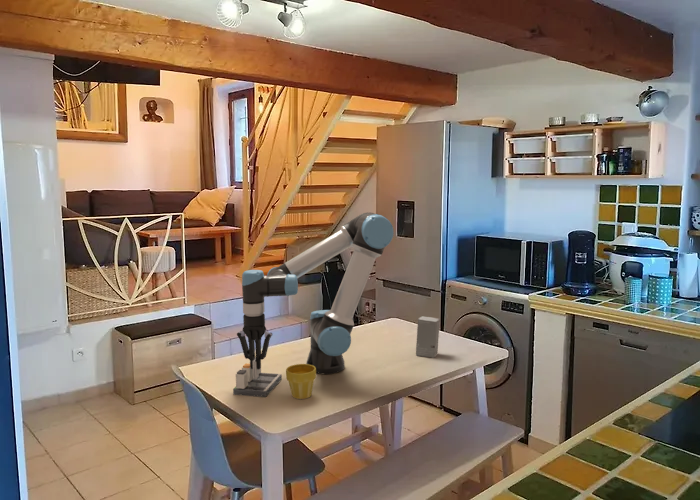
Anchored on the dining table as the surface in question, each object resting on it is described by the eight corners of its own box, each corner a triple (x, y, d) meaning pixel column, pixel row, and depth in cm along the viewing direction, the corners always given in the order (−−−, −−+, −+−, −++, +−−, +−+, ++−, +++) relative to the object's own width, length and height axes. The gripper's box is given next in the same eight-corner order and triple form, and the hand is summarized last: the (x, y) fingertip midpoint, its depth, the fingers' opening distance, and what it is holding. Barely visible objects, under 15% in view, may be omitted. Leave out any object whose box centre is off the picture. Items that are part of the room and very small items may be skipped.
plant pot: (286, 390, 198) (286, 363, 197) (316, 389, 199) (315, 362, 198) (286, 402, 188) (285, 374, 187) (316, 401, 189) (316, 373, 188)
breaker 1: (248, 385, 197) (247, 369, 196) (244, 388, 194) (243, 373, 193) (240, 384, 198) (239, 369, 197) (236, 388, 194) (235, 372, 194)
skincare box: (415, 355, 235) (416, 319, 233) (420, 350, 242) (420, 315, 239) (435, 358, 232) (436, 321, 230) (439, 353, 238) (440, 317, 236)
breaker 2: (253, 378, 204) (253, 363, 203) (249, 381, 200) (249, 366, 199) (245, 377, 204) (245, 362, 203) (242, 381, 201) (241, 366, 200)
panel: (281, 379, 209) (281, 373, 208) (265, 397, 192) (265, 391, 192) (251, 376, 211) (251, 371, 211) (233, 394, 195) (233, 388, 194)
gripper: (274, 311, 200) (276, 374, 204) (241, 310, 203) (243, 372, 206) (267, 317, 193) (269, 382, 196) (232, 315, 196) (235, 379, 199)
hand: (256, 377), depth 201 cm, fingers closed
